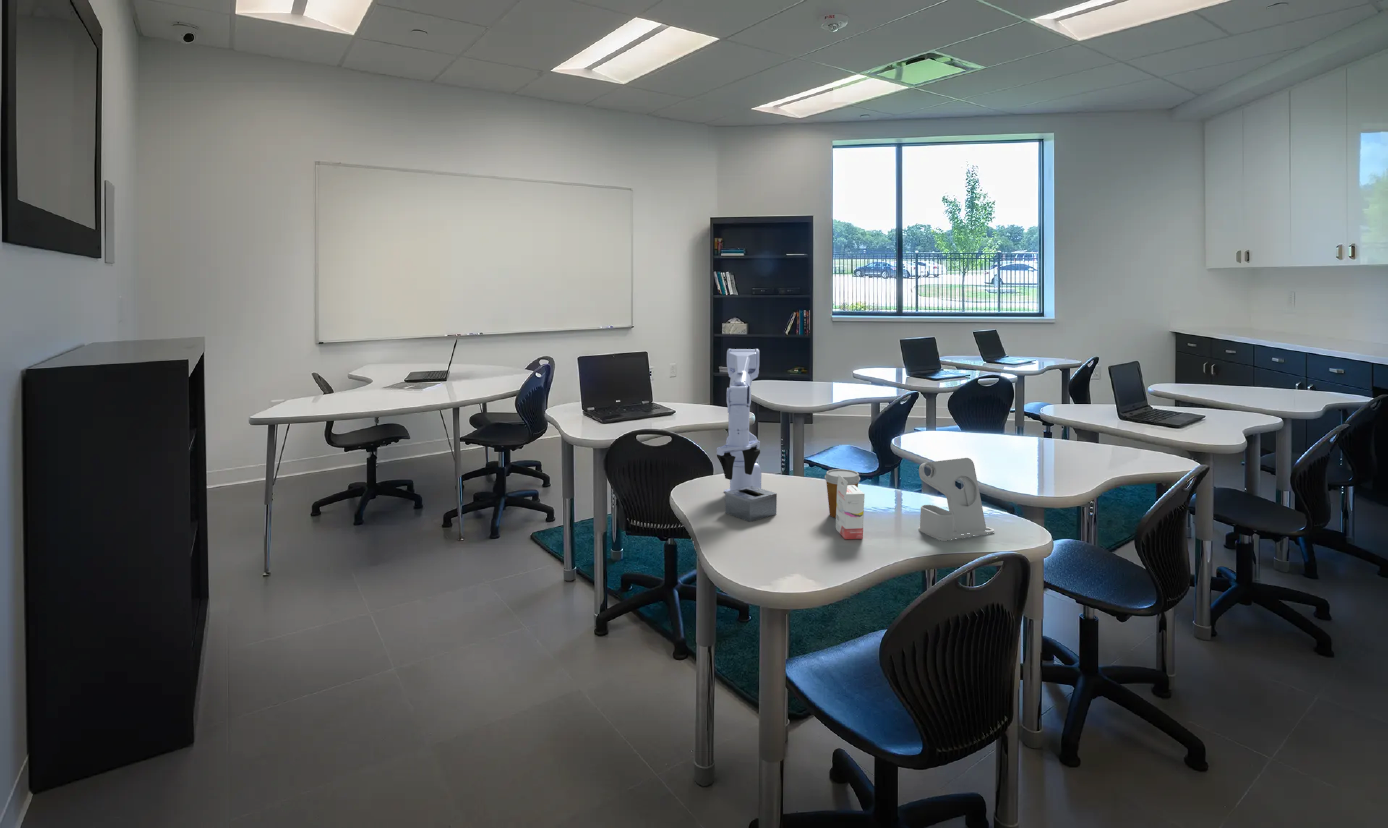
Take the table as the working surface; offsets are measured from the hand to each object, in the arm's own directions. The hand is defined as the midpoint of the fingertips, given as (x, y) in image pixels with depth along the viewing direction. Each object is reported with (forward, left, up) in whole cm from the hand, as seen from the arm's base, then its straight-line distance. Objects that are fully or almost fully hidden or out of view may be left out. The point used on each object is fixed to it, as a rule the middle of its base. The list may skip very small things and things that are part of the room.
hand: (738, 476), depth 199 cm
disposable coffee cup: (-18, +22, -10) cm, 30 cm away
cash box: (0, +5, -10) cm, 11 cm away
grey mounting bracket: (-31, +48, -10) cm, 58 cm away
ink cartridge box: (-8, +33, -10) cm, 35 cm away
